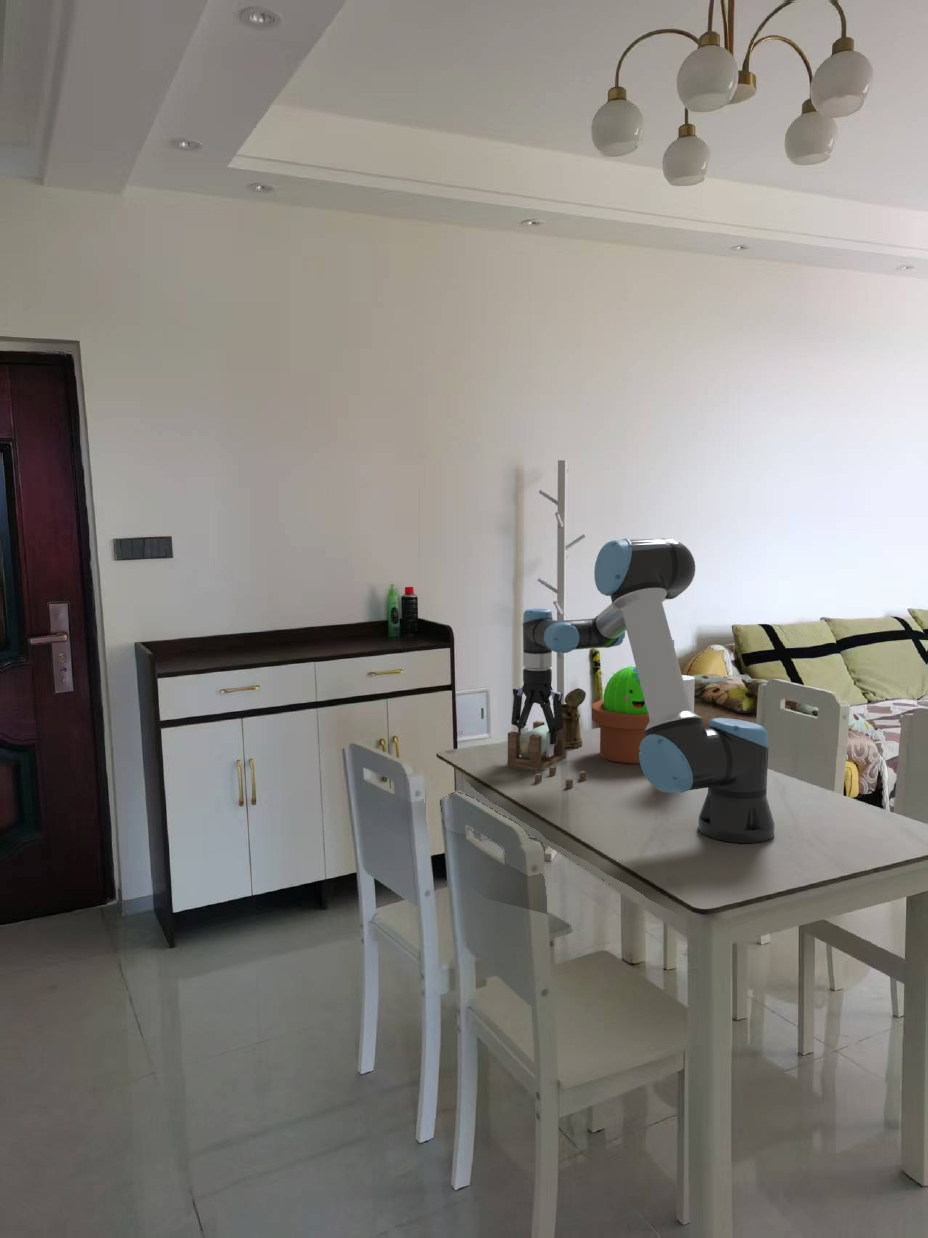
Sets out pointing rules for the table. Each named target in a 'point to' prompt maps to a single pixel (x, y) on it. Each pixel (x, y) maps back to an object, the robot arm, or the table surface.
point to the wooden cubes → (553, 771)
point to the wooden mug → (572, 717)
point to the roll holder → (534, 751)
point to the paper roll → (525, 740)
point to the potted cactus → (621, 717)
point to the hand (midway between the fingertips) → (537, 753)
